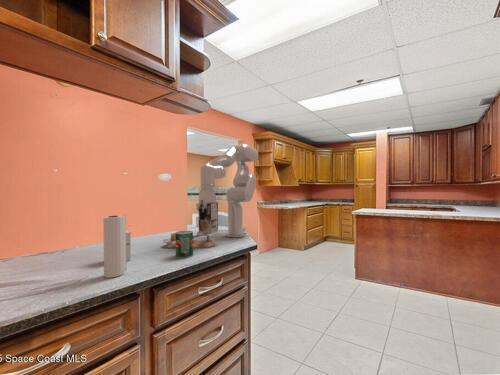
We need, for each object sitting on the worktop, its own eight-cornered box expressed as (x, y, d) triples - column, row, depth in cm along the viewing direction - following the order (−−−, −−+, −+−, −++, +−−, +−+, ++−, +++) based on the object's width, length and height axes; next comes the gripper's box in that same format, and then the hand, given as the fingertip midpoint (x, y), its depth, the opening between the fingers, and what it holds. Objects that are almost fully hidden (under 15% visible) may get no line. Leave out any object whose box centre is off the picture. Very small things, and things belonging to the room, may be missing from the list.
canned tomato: (196, 255, 114) (196, 231, 114) (182, 259, 108) (182, 234, 108) (186, 252, 119) (186, 230, 119) (172, 256, 113) (171, 232, 113)
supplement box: (112, 264, 101) (112, 234, 101) (106, 261, 106) (106, 232, 106) (131, 260, 107) (130, 231, 107) (124, 257, 112) (124, 229, 112)
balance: (160, 248, 127) (160, 235, 127) (166, 243, 139) (166, 231, 139) (218, 247, 129) (218, 234, 129) (219, 242, 141) (219, 230, 141)
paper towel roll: (103, 279, 84) (103, 217, 85) (104, 274, 90) (103, 216, 90) (126, 275, 88) (126, 216, 88) (126, 270, 93) (125, 214, 93)
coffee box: (218, 231, 135) (218, 202, 135) (211, 233, 130) (210, 203, 130) (205, 230, 140) (205, 202, 140) (198, 232, 134) (197, 203, 134)
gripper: (212, 187, 144) (212, 216, 144) (191, 187, 129) (191, 220, 129) (222, 187, 140) (223, 217, 140) (202, 187, 125) (202, 221, 125)
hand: (208, 218), depth 135 cm, fingers open, 9 cm apart
